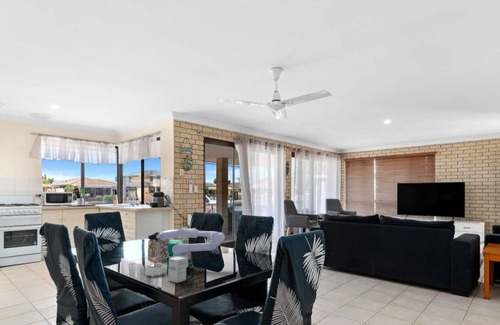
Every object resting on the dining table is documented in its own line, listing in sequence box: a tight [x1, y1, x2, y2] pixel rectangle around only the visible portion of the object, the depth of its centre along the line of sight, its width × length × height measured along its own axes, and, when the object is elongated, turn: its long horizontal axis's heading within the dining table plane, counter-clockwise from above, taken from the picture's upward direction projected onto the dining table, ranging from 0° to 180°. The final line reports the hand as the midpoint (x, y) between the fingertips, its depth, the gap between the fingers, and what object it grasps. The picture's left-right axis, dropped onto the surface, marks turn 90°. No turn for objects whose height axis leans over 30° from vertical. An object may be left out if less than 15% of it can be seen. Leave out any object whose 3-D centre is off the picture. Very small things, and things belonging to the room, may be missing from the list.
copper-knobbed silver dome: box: [147, 258, 162, 267], centre depth 192 cm, size 8×8×4 cm
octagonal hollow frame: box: [143, 263, 165, 278], centre depth 192 cm, size 12×11×5 cm
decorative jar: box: [147, 238, 171, 262], centre depth 235 cm, size 12×12×18 cm
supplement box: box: [167, 256, 187, 284], centre depth 179 cm, size 7×7×13 cm
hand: (151, 237), depth 213 cm, fingers open, 7 cm apart
